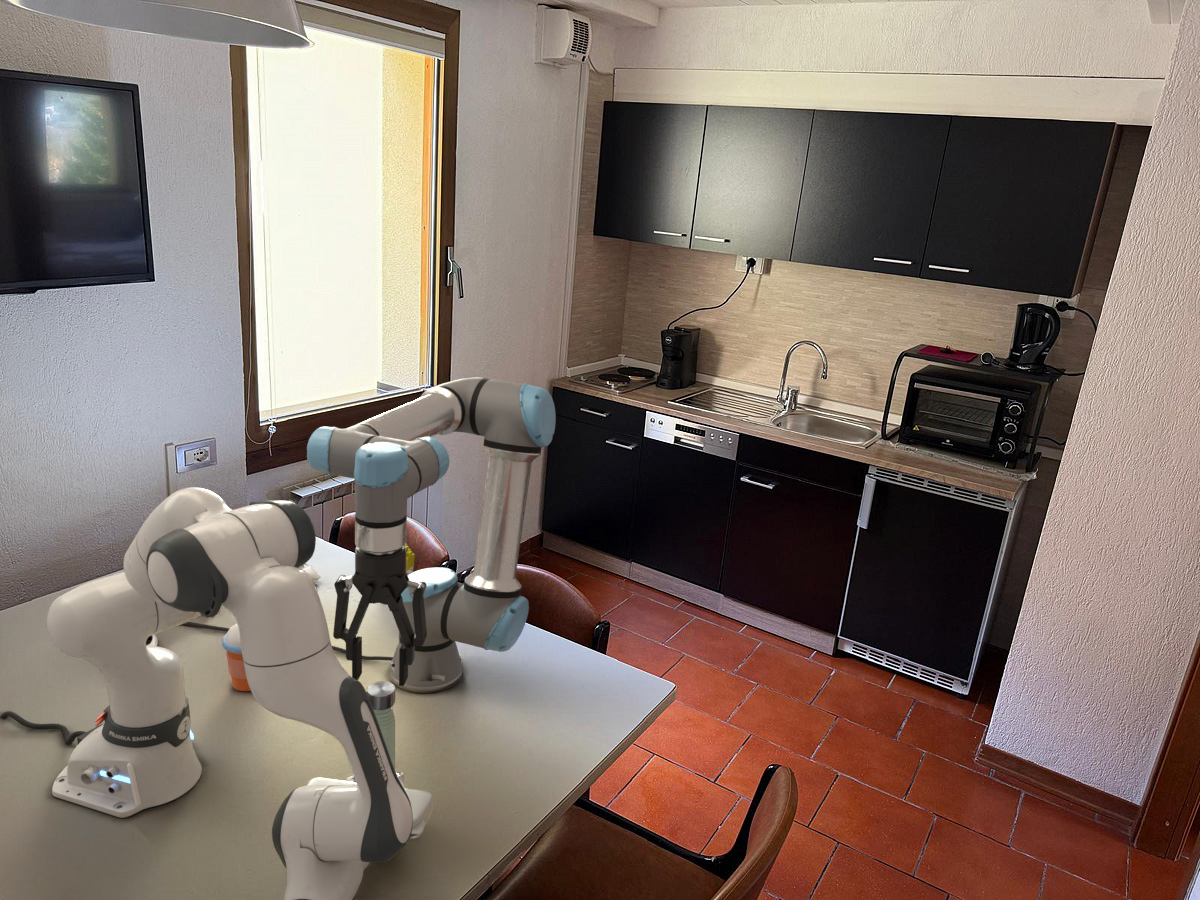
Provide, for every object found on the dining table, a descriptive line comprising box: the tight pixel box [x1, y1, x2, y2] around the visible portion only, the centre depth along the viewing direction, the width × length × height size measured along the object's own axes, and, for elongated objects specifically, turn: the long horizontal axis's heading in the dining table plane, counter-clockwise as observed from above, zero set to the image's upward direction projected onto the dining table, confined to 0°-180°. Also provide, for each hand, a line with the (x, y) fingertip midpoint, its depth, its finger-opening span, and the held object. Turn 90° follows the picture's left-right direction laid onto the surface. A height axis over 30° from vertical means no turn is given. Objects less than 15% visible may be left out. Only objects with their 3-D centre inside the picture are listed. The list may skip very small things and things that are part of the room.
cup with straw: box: [221, 622, 251, 692], centre depth 171 cm, size 9×9×18 cm
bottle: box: [374, 706, 396, 770], centre depth 139 cm, size 4×4×23 cm
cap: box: [366, 680, 396, 711], centre depth 136 cm, size 4×4×3 cm
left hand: (382, 773), depth 142 cm, fingers closed on bottle, 4 cm apart
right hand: (380, 678), depth 135 cm, fingers open, 7 cm apart
